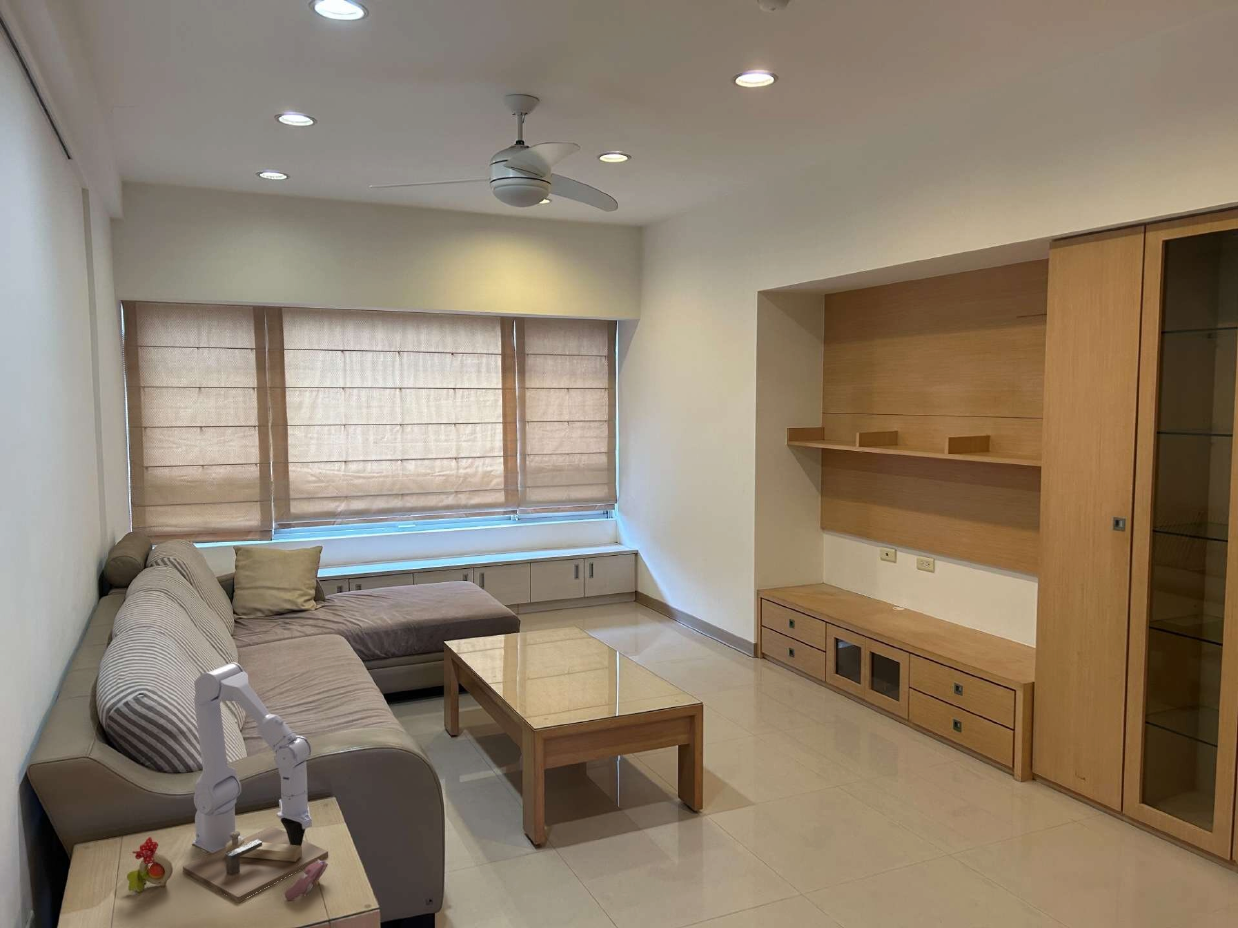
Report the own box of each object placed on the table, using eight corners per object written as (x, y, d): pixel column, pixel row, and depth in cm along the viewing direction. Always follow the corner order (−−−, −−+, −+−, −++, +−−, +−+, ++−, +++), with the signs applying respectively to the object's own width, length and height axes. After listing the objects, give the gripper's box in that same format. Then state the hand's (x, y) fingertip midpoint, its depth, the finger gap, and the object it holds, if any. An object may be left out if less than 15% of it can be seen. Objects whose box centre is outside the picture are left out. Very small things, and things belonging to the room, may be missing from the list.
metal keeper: (226, 873, 198) (225, 853, 198) (257, 858, 205) (257, 839, 204) (231, 875, 197) (230, 856, 197) (262, 860, 204) (262, 841, 203)
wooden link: (222, 855, 205) (221, 836, 205) (233, 847, 209) (232, 828, 209) (294, 862, 202) (293, 843, 202) (303, 853, 206) (302, 834, 206)
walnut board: (183, 871, 201) (182, 866, 201) (272, 830, 220) (272, 825, 220) (238, 902, 189) (238, 897, 189) (328, 855, 208) (328, 851, 208)
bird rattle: (170, 886, 199) (132, 871, 199) (188, 842, 198) (149, 828, 198) (156, 902, 193) (117, 887, 192) (175, 857, 192) (135, 842, 192)
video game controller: (298, 909, 189) (311, 883, 188) (281, 898, 190) (293, 872, 189) (322, 884, 199) (334, 859, 198) (305, 873, 199) (317, 848, 198)
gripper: (265, 785, 209) (267, 840, 210) (289, 806, 198) (291, 864, 199) (294, 777, 214) (296, 830, 215) (319, 797, 203) (321, 853, 204)
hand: (296, 846), depth 207 cm, fingers closed
